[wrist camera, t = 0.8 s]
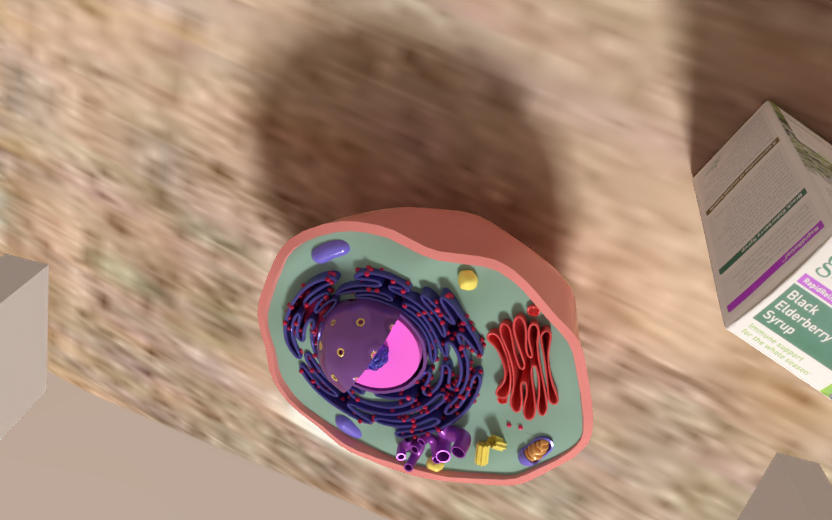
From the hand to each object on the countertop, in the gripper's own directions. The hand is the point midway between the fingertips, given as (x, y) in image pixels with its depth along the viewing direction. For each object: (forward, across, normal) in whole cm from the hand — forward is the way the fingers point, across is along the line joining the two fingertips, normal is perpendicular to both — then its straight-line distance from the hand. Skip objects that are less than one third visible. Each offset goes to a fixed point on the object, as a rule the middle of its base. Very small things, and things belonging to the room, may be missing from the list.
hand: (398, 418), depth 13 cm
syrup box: (+28, +17, 0) cm, 33 cm away
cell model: (+32, +3, -14) cm, 35 cm away
